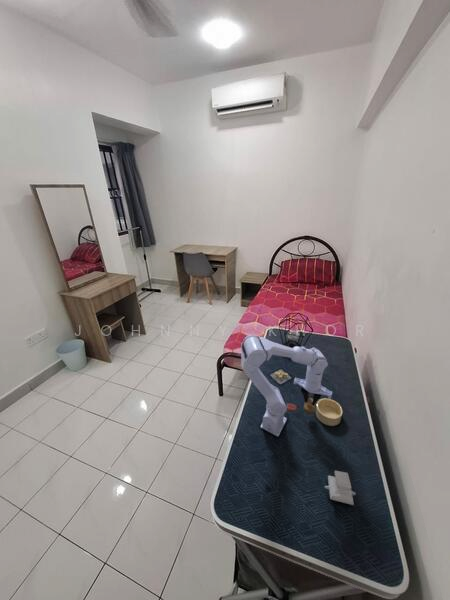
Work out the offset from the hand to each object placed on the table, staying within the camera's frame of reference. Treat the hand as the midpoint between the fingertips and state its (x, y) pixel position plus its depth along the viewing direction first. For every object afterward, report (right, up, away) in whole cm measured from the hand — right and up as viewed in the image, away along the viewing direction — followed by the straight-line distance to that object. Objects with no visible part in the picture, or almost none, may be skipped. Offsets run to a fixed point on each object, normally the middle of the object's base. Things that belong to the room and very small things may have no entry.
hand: (310, 402), depth 99 cm
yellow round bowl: (+9, -7, +4) cm, 12 cm away
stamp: (+2, -20, -22) cm, 30 cm away
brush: (0, -4, +2) cm, 4 cm away
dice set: (-6, +2, +25) cm, 26 cm away
